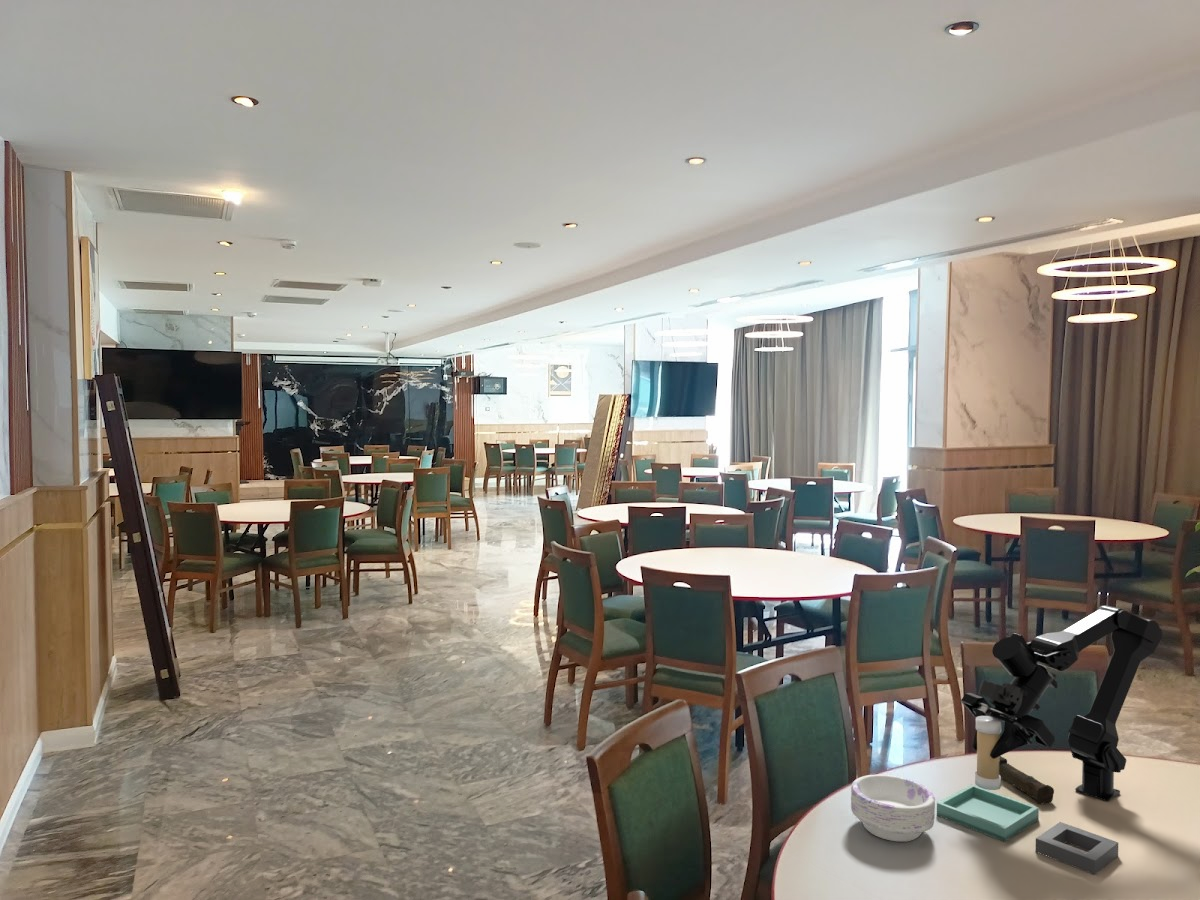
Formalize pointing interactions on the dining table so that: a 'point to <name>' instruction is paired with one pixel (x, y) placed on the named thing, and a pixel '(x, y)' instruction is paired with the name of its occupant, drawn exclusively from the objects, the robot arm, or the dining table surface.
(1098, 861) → the frame
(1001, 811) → the parts tray
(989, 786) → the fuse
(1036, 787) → the dark brown rod
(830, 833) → the dining table surface
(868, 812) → the paper bowls
